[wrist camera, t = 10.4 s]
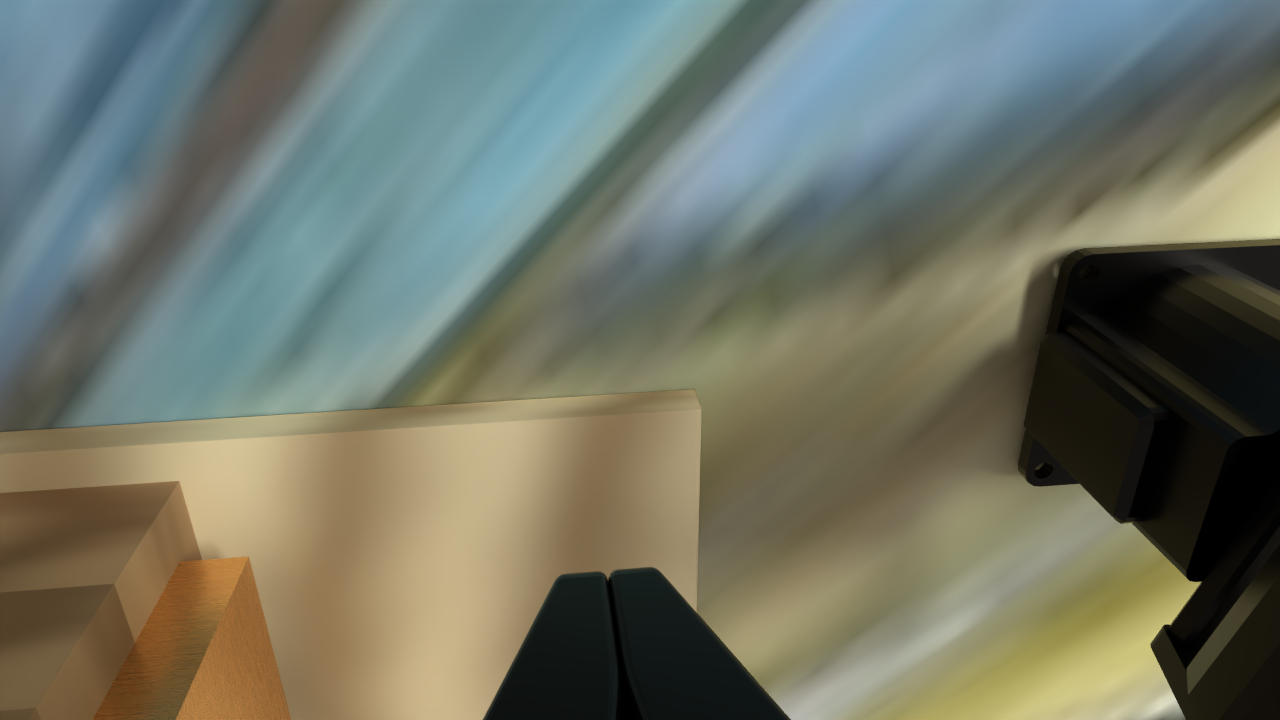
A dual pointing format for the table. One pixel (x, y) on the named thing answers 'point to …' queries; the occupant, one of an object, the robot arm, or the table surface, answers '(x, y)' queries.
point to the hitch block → (339, 540)
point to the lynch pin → (201, 652)
